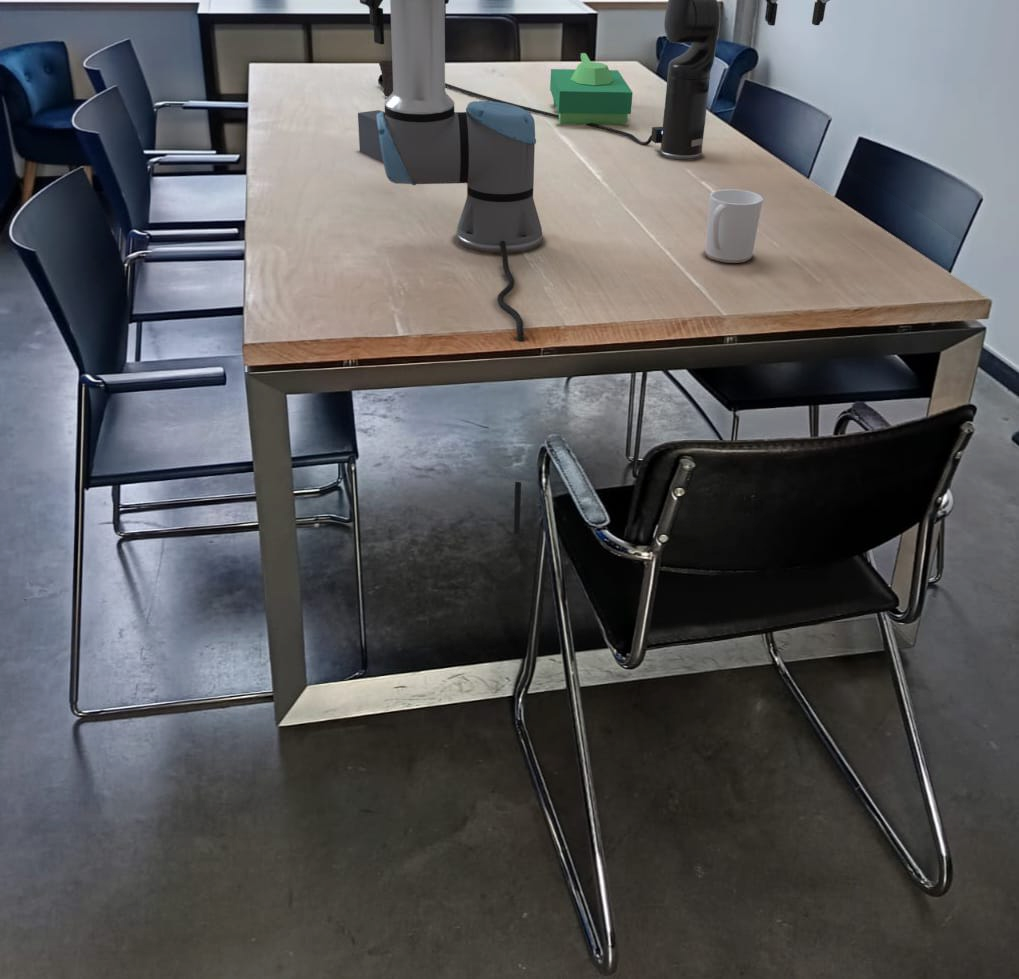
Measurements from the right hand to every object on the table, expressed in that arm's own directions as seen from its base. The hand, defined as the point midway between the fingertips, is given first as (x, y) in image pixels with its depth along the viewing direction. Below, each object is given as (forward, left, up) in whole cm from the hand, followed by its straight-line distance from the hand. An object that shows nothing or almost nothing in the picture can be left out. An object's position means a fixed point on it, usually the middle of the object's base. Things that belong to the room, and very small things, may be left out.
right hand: (793, 24), depth 200 cm
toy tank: (-84, -7, -33) cm, 90 cm away
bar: (-48, -65, -33) cm, 87 cm away
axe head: (-118, -48, -33) cm, 131 cm away
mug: (+26, -22, -33) cm, 48 cm away
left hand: (-41, -63, -8) cm, 75 cm away
